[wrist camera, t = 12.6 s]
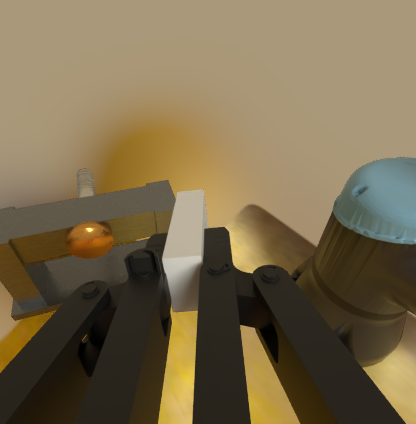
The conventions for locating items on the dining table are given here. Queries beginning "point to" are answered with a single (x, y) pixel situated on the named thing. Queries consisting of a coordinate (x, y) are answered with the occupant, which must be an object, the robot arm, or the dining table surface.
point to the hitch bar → (56, 245)
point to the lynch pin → (88, 226)
